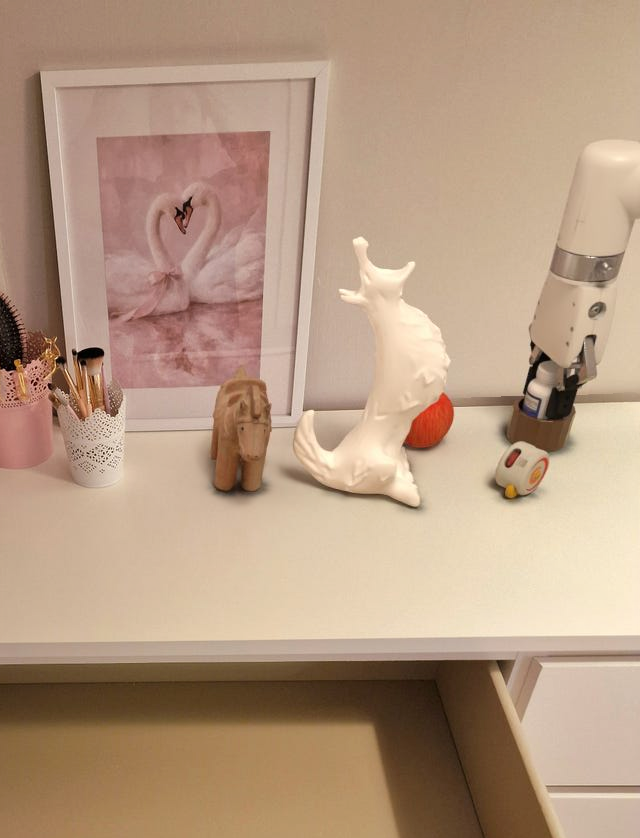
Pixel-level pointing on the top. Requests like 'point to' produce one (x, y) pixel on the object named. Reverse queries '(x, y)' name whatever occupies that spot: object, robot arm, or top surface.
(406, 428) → the sculpture
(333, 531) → the top surface
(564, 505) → the top surface
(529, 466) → the roller toy
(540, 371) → the pill bottle
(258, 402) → the figurine
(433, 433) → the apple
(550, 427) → the holder
